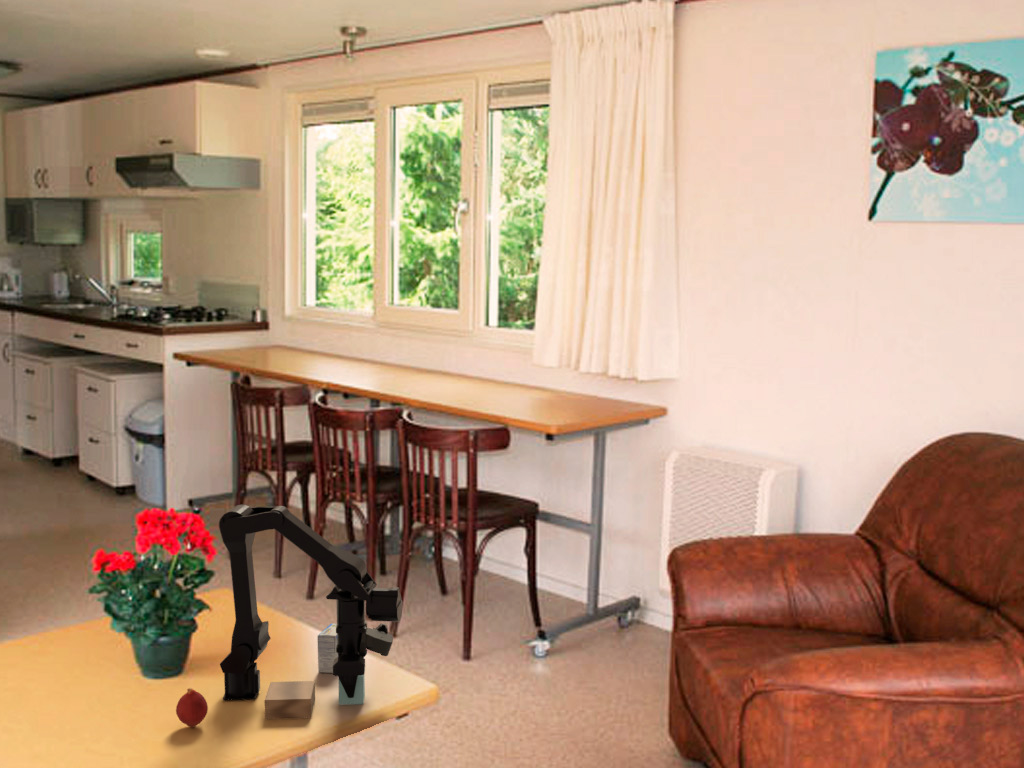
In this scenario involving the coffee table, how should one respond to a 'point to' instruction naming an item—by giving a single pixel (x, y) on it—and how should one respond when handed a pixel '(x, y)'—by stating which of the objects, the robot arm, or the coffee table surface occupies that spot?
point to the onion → (191, 708)
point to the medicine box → (327, 649)
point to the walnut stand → (290, 700)
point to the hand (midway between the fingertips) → (351, 692)
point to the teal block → (358, 693)
